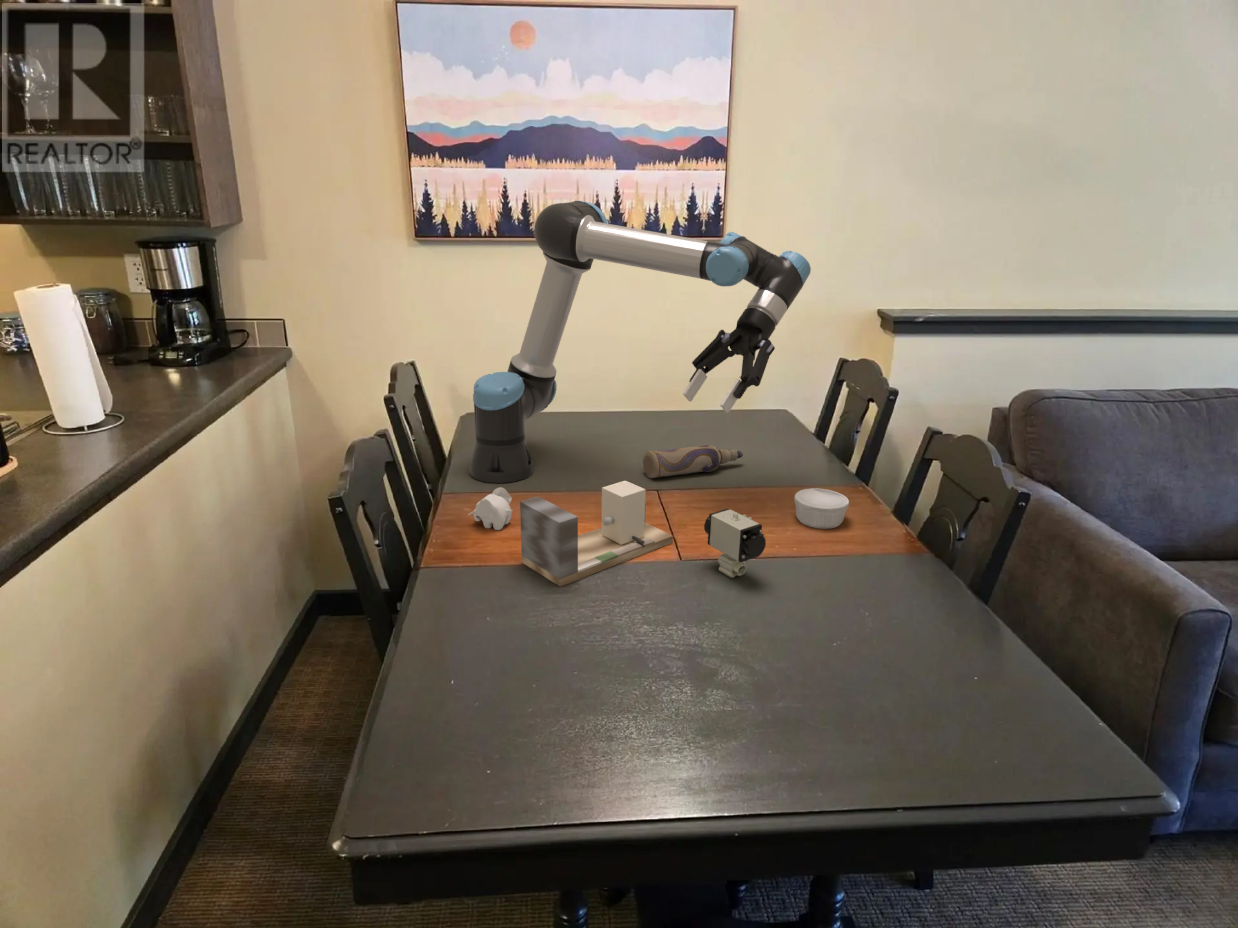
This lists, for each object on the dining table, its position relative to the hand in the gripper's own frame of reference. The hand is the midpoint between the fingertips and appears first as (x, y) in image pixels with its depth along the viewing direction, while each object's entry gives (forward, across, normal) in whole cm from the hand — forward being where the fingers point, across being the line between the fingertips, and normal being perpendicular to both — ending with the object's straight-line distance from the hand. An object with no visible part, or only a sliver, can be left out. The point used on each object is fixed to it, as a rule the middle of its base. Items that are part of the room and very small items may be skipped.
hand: (705, 403), depth 165 cm
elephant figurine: (+44, +24, +8) cm, 51 cm away
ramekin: (+5, -18, -31) cm, 36 cm away
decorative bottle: (+6, +18, -30) cm, 36 cm away
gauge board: (+37, 0, +2) cm, 37 cm away
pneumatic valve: (+28, -22, -8) cm, 36 cm away
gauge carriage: (+32, -1, -1) cm, 32 cm away
